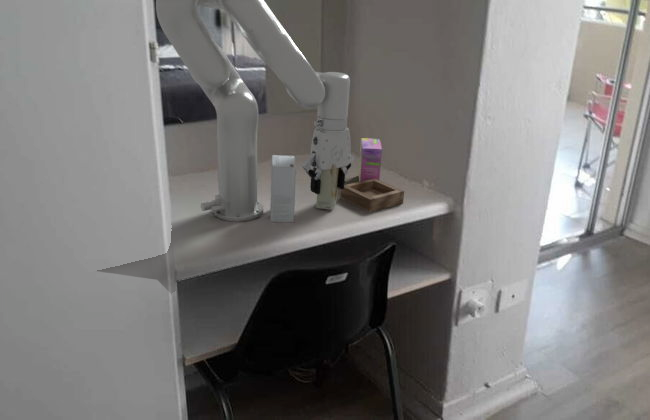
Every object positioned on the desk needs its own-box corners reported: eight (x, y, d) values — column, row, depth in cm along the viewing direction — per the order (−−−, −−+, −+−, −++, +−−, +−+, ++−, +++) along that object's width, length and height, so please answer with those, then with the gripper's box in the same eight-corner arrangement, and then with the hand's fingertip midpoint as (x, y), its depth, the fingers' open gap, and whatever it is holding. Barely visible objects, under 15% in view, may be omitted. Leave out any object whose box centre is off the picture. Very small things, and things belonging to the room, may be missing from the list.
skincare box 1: (270, 209, 154) (270, 154, 148) (293, 209, 155) (294, 154, 149) (270, 223, 146) (270, 165, 141) (295, 223, 147) (296, 165, 141)
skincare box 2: (332, 210, 154) (335, 165, 150) (315, 208, 155) (318, 163, 150) (336, 202, 160) (340, 158, 155) (320, 200, 161) (323, 156, 156)
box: (379, 188, 172) (382, 148, 167) (359, 187, 172) (361, 147, 167) (377, 176, 181) (380, 138, 177) (358, 175, 181) (360, 137, 177)
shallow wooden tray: (369, 212, 155) (370, 199, 154) (340, 197, 164) (341, 185, 162) (403, 203, 162) (404, 191, 161) (373, 189, 171) (374, 178, 169)
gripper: (312, 130, 141) (308, 200, 148) (368, 123, 151) (362, 189, 158) (294, 123, 147) (291, 191, 153) (349, 116, 157) (344, 180, 164)
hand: (327, 189), depth 156 cm, fingers closed on skincare box 2, 7 cm apart
